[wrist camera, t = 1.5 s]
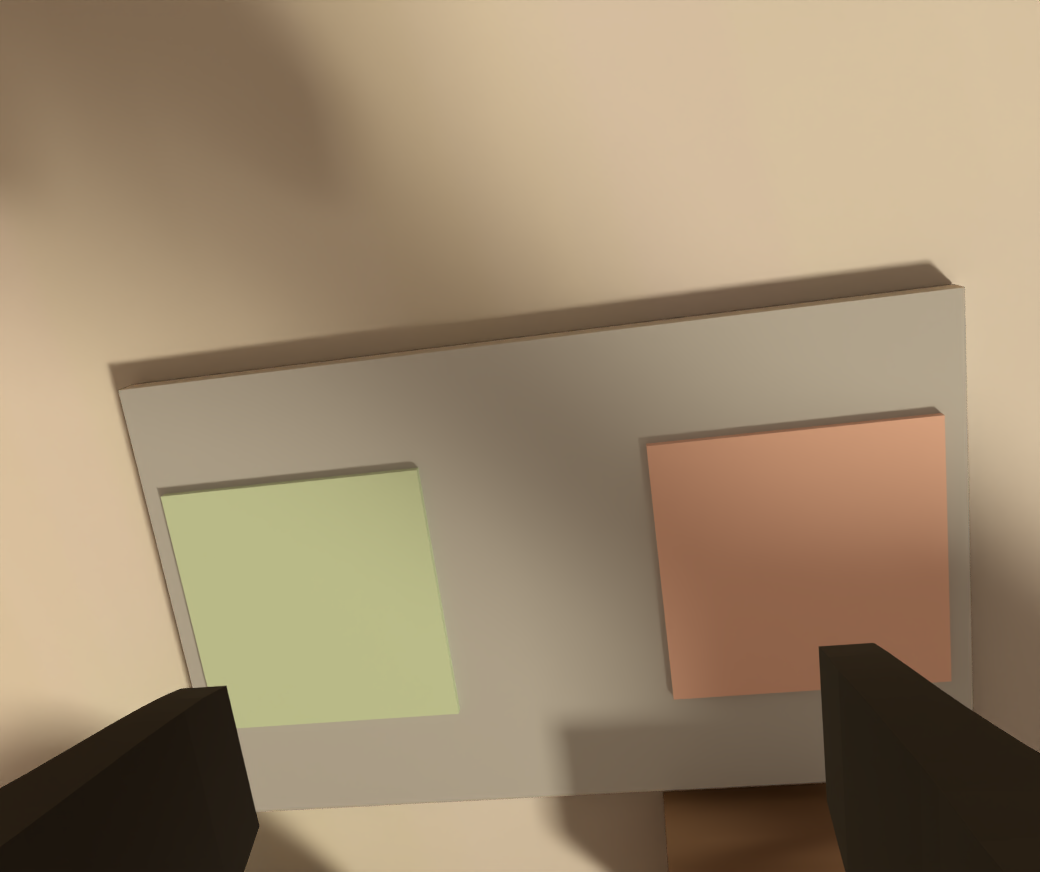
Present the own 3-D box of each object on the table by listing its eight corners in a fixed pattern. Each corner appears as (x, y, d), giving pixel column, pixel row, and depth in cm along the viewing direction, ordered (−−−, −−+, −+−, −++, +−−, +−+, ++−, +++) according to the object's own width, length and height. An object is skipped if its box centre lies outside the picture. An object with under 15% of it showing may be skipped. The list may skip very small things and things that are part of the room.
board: (954, 284, 19) (968, 288, 18) (964, 758, 21) (977, 779, 21) (131, 385, 21) (113, 392, 20) (233, 798, 24) (220, 818, 23)
